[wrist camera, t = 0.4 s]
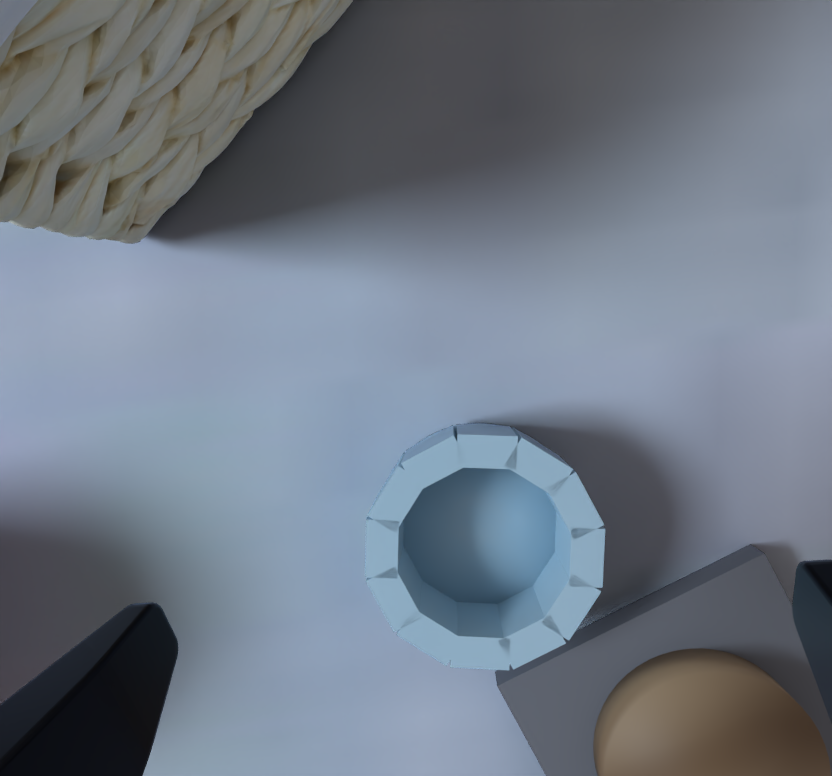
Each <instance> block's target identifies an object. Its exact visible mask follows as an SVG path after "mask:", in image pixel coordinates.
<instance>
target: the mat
mask: <svg viewBox="0 0 832 776" xmlns="http://www.w3.org/2000/svg"><path fill="white" fill-rule="evenodd" d="M564 640H565V642H566V644H564V645H562V646H560V647H558V648H556V649H554V650H552V651H550V652H548V653H546V654H544V655H542V656H540V657H538V658H536V659H534V660H532V661H530V662H528V663H526V664H524V665H522V666H520V667H518V668H516V669H514V670H513V668H512V666H511V664H510V666H509V670H498V671H496V672H495V674H496V681H497V686H498V688H499V690H500V692H501V694H502V696H503V697H504V699H505V701H506V703H507V705H508V707H509V708H510V710H511V712H512V714H513V716H514V718H515V719H516V721H517V723H518V725H519V727H520V729H521V730H522V732H523V734H524V736H525V738H526V740H527V741H528V743H529V745H530V747H531V749H532V751H533V752H534V754H535V756H536V758H537V760H538V762H539V763H540V765H541V767H542V769H543V771H544V773H545V774H546V776H598V775H597V772H596V768H595V762H594V753H593V741H594V732H595V727H596V723H597V719H598V716H599V714H600V711H601V709H602V706H603V704H604V703H605V701H606V699H607V697H608V696H609V694H610V693H611V691H612V690H613V689H614V688H615V686H616V685H617V684H618V683H619V682H620V681H621V680H622V679H623V678H624V677H625V676H626V675H627V674H628V673H629V672H631V671H632V670H633V669H635V668H636V667H637V666H639V665H641V664H642V663H644V662H646V661H648V660H649V659H652V658H654V657H656V656H659V655H661V654H665V653H668V652H672V651H676V650H683V649H698V648H704V649H713V650H719V651H723V652H727V653H731V654H734V655H736V656H739V657H742V658H744V659H746V660H748V661H750V662H752V663H753V664H755V665H757V666H758V667H760V668H761V669H762V670H764V671H765V672H767V673H768V674H769V675H770V676H771V677H772V678H773V679H774V680H775V681H776V682H777V683H778V684H779V685H780V686H781V687H782V688H783V689H784V690H785V691H786V692H787V693H788V694H789V695H790V696H791V697H792V698H793V699H794V700H795V701H796V702H797V703H798V704H799V705H800V706H801V707H802V708H803V709H804V710H805V712H806V713H807V714H808V715H809V716H810V718H811V719H812V720H813V722H814V724H815V725H816V727H817V729H818V730H819V732H820V734H821V736H822V739H823V741H824V743H825V746H826V750H827V753H828V756H829V762H830V769H831V776H832V724H831V722H830V719H829V716H828V714H827V711H826V708H825V705H824V703H823V700H822V697H821V695H820V692H819V689H818V686H817V684H816V681H815V678H814V676H813V673H812V670H811V667H810V665H809V662H808V659H807V657H806V654H805V651H804V649H803V646H802V643H801V640H800V638H799V635H798V632H797V630H796V627H795V623H794V619H793V613H792V604H791V603H790V601H789V599H788V597H787V595H786V593H785V591H784V589H783V587H782V586H781V584H780V582H779V580H778V578H777V576H776V574H775V572H774V570H773V568H772V567H771V565H770V563H769V561H768V559H767V557H766V555H765V553H763V552H762V551H760V550H758V549H757V548H755V547H754V546H752V545H751V544H750V545H748V546H746V547H744V548H742V549H740V550H738V551H736V552H734V553H732V554H730V555H728V556H726V557H724V558H722V559H720V560H718V561H716V562H714V563H712V564H710V565H708V566H706V567H704V568H702V569H700V570H698V571H696V572H694V573H692V574H690V575H688V576H686V577H684V578H682V579H680V580H678V581H676V582H674V583H672V584H670V585H668V586H666V587H664V588H662V589H660V590H658V591H656V592H654V593H652V594H650V595H648V596H646V597H644V598H642V599H640V600H638V601H636V602H634V603H632V604H630V605H628V606H626V607H624V608H622V609H620V610H618V611H616V612H614V613H612V614H610V615H608V616H606V617H604V618H602V619H600V620H598V621H596V622H594V623H592V624H590V625H588V626H586V627H584V628H582V629H580V630H578V631H576V632H575V633H574V634H573V636H572V637H571V639H570V640H567V639H566V638H564Z"/></svg>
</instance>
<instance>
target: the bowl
mask: <svg viewBox="0 0 832 776" xmlns="http://www.w3.org/2000/svg"><path fill="white" fill-rule="evenodd" d="M367 516H368V517H367V519H366V546H365V577H367V579H366V583H367V584H368V586H369V588H370V590H371V592H372V594H373V595H374V597H375V599H376V601H377V603H378V604H379V606H380V608H381V610H382V612H383V614H384V615H385V617H386V619H387V621H388V623H389V625H390V626H391V628H392V630H393V632H395V631H397V636H399V637H400V638H402V639H403V640H405V641H407V642H408V643H410V644H411V645H413V646H415V647H416V648H418V649H419V650H421V651H423V652H424V653H426V654H427V655H429V656H431V657H432V658H434V659H436V660H437V661H439V662H440V663H442V664H444V665H445V666H447V665H448V663H449V662H450V668H470V669H490V670H509V666H510V664H511V666H512V668H513V670H514V669H516V668H518V667H520V666H522V665H524V664H526V663H528V662H530V661H532V660H534V659H536V658H538V657H540V656H542V655H544V654H546V653H548V652H550V651H552V650H554V649H556V648H558V647H560V646H562V645H564V644H566V642H565V640H564V638H566V639H567V640H570V639H571V637H572V636H573V634H574V633H575V631H576V629H577V628H578V626H579V625H580V623H581V622H582V620H583V619H584V617H585V616H586V614H587V613H588V611H589V610H590V608H591V607H592V605H593V604H594V602H595V601H596V599H597V598H598V596H599V595H600V593H601V590H600V589H599V588H603V568H604V546H605V528H604V527H603V525H604V523H603V521H602V520H601V518H600V516H599V514H598V512H597V510H596V508H595V507H594V505H593V503H592V501H591V499H590V497H589V495H588V494H587V492H586V490H585V488H584V486H583V484H582V482H581V480H580V479H579V477H578V475H577V473H576V472H575V471H574V470H573V469H572V468H571V467H570V466H569V465H568V464H567V463H566V462H565V461H564V460H563V459H562V458H561V457H560V456H559V455H558V454H556V453H554V452H553V451H551V450H549V449H548V448H546V447H545V446H543V445H542V444H540V443H539V442H537V441H536V440H535V439H533V438H531V437H529V436H528V435H526V434H524V433H522V432H520V431H519V430H517V429H515V428H514V427H513V428H511V427H510V426H501V425H496V424H488V423H468V424H456V425H455V426H453V425H452V426H450V427H448V428H445V429H442V430H440V431H438V432H436V433H433V434H431V435H429V436H428V437H426V438H424V439H423V440H421V441H420V442H418V443H417V444H416V445H414V446H413V447H411V448H409V449H407V450H406V452H404V453H403V455H402V456H401V458H400V459H399V461H398V463H397V464H396V466H395V467H394V469H393V470H392V472H391V474H390V475H389V477H388V479H387V480H386V482H385V484H384V485H383V487H382V489H381V490H380V492H379V493H378V495H377V497H376V499H375V501H374V503H373V505H372V507H371V509H370V511H369V513H368V515H367Z"/></svg>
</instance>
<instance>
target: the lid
mask: <svg viewBox="0 0 832 776" xmlns="http://www.w3.org/2000/svg"><path fill="white" fill-rule="evenodd" d="M593 753H594V762H595V768H596V772H597V775H598V776H831V769H830V762H829V756H828V753H827V750H826V746H825V743H824V741H823V739H822V736H821V734H820V732H819V730H818V729H817V727H816V725H815V724H814V722H813V720H812V719H811V718H810V716H809V715H808V714H807V713H806V712H805V710H804V709H803V708H802V707H801V706H800V705H799V704H798V703H797V702H796V701H795V700H794V699H793V698H792V697H791V696H790V695H789V694H788V693H787V692H786V691H785V690H784V689H783V688H782V687H781V686H780V685H779V684H778V683H777V682H776V681H775V680H774V679H773V678H772V677H771V676H770V675H769V674H768V673H767V672H765V671H764V670H762V669H761V668H760V667H758V666H757V665H755V664H753V663H752V662H750V661H748V660H746V659H744V658H742V657H739V656H736V655H734V654H731V653H727V652H723V651H719V650H713V649H704V648H698V649H683V650H676V651H672V652H668V653H665V654H661V655H659V656H656V657H654V658H652V659H649V660H648V661H646V662H644V663H642V664H641V665H639V666H637V667H636V668H635V669H633V670H632V671H631V672H629V673H628V674H627V675H626V676H625V677H624V678H623V679H622V680H621V681H620V682H619V683H618V684H617V685H616V686H615V688H614V689H613V690H612V691H611V693H610V694H609V696H608V697H607V699H606V701H605V703H604V704H603V706H602V709H601V711H600V714H599V716H598V719H597V723H596V727H595V732H594V741H593Z"/></svg>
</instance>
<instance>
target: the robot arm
mask: <svg viewBox="0 0 832 776" xmlns="http://www.w3.org/2000/svg"><path fill="white" fill-rule="evenodd" d="M792 613H793V619H794V623H795V627H796V630H797V632H798V635H799V638H800V640H801V643H802V646H803V649H804V651H805V654H806V657H807V659H808V662H809V665H810V667H811V670H812V673H813V676H814V678H815V681H816V684H817V686H818V689H819V692H820V695H821V697H822V700H823V703H824V705H825V708H826V711H827V714H828V716H829V719H830V722H831V724H832V560H813V561H803V562H801V563H799V564H798V566H797V569H796V576H795V586H794V595H793V605H792ZM177 655H178V642H177V638H176V636H175V634H174V632H173V630H172V628H171V626H170V624H169V622H168V620H167V618H166V616H165V614H164V612H163V610H162V608H161V606H159V605H158V604H157V603H153V602H151V603H135V604H131V605H129V606H127V607H126V608H124V609H123V610H122V611H120V612H119V613H118V614H117V615H115V616H114V617H113V618H111V619H110V620H109V621H108V622H106V623H105V624H104V625H102V626H101V627H100V628H99V629H97V630H96V631H95V632H93V633H92V634H91V635H89V636H88V637H87V638H86V639H84V640H83V641H82V642H80V643H79V644H78V645H77V646H75V647H74V648H73V649H71V650H70V651H69V652H68V653H66V654H65V655H64V656H62V657H61V658H60V659H59V660H57V661H56V662H55V663H53V664H52V665H51V666H50V667H48V668H47V669H46V670H44V671H43V672H42V673H41V674H39V675H38V676H37V677H35V678H34V679H33V680H31V681H30V682H29V683H28V684H26V685H25V686H24V687H22V688H21V689H20V690H19V691H17V692H16V693H15V694H13V695H12V696H11V697H10V698H8V699H7V700H6V701H4V702H3V703H2V704H1V705H0V776H142V775H143V773H144V770H145V767H146V764H147V761H148V758H149V755H150V752H151V749H152V746H153V742H154V739H155V735H156V732H157V728H158V725H159V721H160V717H161V714H162V710H163V707H164V703H165V699H166V696H167V692H168V688H169V685H170V681H171V678H172V674H173V670H174V667H175V663H176V660H177Z"/></svg>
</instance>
